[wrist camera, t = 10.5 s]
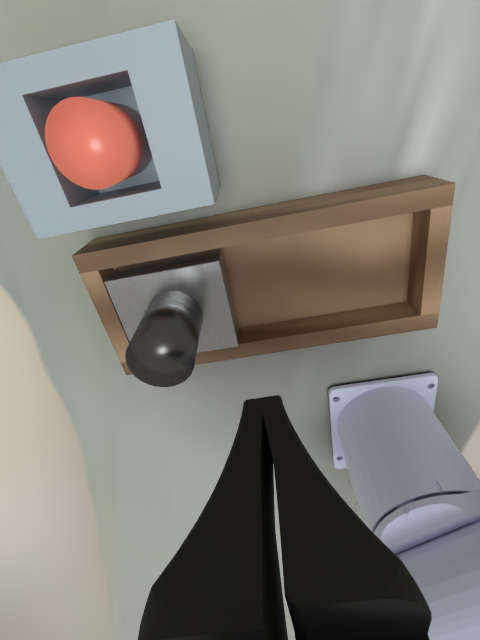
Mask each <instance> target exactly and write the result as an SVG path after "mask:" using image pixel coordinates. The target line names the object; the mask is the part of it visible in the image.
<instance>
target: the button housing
mask: <svg viewBox="0 0 480 640" xmlns="http://www.w3.org/2000/svg"><path fill="white" fill-rule="evenodd" d="M70 97H86V98H91V99H96V100H102V101H107V102H112V103H118V104H123V105H126V106H128V107H130V108H132V109H134V110H135V111H136V112H138V113H139V114H140V115H141V119H142V122H143V126H144V129H145V133H146V136H147V140H148V143H149V147H150V150H151V154H152V158H151V160H150V162H149V164H148V166H147V167H146V168H145V169H144V170H143V171H142V172H140V173H138V174H136V175H134V176H132V177H130V178H128V179H126V180H123V181H121V182H119V183H117V184H115V185H113V186H111V187H109V188H105V189H100V190H93V189H87V188H84V187H81V186H79V185H77V184H75V183H73V182H72V181H70V180H69V179H67V178H66V177H65V176H64V175H63V174H62V173H61V172H60V171H59V170H58V168H57V167H56V166H55V164H54V163H53V161H52V159H51V157H50V155H49V152H48V150H47V146H46V142H45V124H46V120H47V117H48V115H49V113H50V111H51V110H52V108H53V107H54V106H55V105H56V104H58V103H59V102H60V101H62V100H64V99H67V98H70ZM0 165H1V167H2V169H3V171H4V173H5V175H6V177H7V179H8V181H9V183H10V185H11V187H12V189H13V191H14V193H15V195H16V197H17V199H18V201H19V203H20V205H21V207H22V209H23V211H24V213H25V215H26V217H27V219H28V221H29V223H30V225H31V227H32V229H33V231H34V233H35V235H36V237H37V239H41V238H46V237H51V236H56V235H61V234H66V233H71V232H76V231H81V230H87V229H92V228H97V227H102V226H107V225H112V224H117V223H122V222H127V221H132V220H137V219H142V218H148V217H153V216H158V215H163V214H168V213H173V212H178V211H183V210H188V209H193V208H198V207H203V206H209V205H214V204H215V201H216V198H217V195H218V191H219V188H220V183H219V178H218V173H217V168H216V163H215V158H214V153H213V148H212V143H211V138H210V133H209V129H208V124H207V119H206V114H205V109H204V104H203V99H202V94H201V89H200V84H199V79H198V75H197V70H196V65H195V60H194V55H193V50H192V48H191V46H190V45H189V43H188V41H187V40H186V38H185V36H184V35H183V33H182V31H181V30H180V28H179V26H178V25H177V23H176V21H175V20H170V21H166V22H162V23H158V24H154V25H150V26H146V27H142V28H138V29H134V30H130V31H126V32H122V33H118V34H114V35H110V36H106V37H102V38H98V39H94V40H90V41H86V42H82V43H78V44H74V45H70V46H66V47H62V48H58V49H54V50H50V51H46V52H42V53H38V54H34V55H30V56H26V57H22V58H18V59H14V60H10V61H6V62H2V63H0Z"/></svg>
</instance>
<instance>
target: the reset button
mask: <svg viewBox="0 0 480 640" xmlns="http://www.w3.org/2000/svg"><path fill="white" fill-rule="evenodd" d="M45 142H46V146H47V150H48V152H49V155H50V157H51V159H52V161H53V163H54V164H55V166H56V167H57V168H58V170H59V171H60V172H61V173H62V174H63V175H64V176H65V177H66V178H67V179H69V180H70V181H72V182H73V183H75V184H77V185H79V186H81V187H84V188H87V189H93V190H100V189H105V188H109V187H111V186H113V185H115V184H117V183H119V182H121V181H123V180H126V179H128V178H130V177H132V176H134V175H136V174H138V173H140V172H142V171H143V170H144V169H145V168H146V167H147V166H148V164H149V162H150V160H151V158H152V154H151V150H150V147H149V143H148V140H147V136H146V133H145V129H144V126H143V122H142V119H141V115H140V114H139V113H138V112H136V111H135V110H134V109H132V108H130V107H128V106H126V105H123V104H118V103H112V102H107V101H102V100H96V99H91V98H86V97H70V98H67V99H64V100H62V101H60V102H59V103H58V104H56V105H55V106H54V107H53V108H52V110H51V111H50V113H49V115H48V117H47V120H46V124H45Z"/></svg>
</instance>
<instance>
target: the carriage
mask: <svg viewBox="0 0 480 640" xmlns="http://www.w3.org/2000/svg"><path fill="white" fill-rule="evenodd" d="M104 283H105V285H106V287H107V290H108V292H109V294H110V297H111V299H112V302H113V304H114V306H115V309H116V311H117V313H118V316H119V318H120V320H121V323H122V325H123V327H124V330H125V332H126V334H127V337H128V339H129V341H130V343H129V345H128V347H127V350H126V354H125V358H126V363H127V366H128V368H129V370H130V371H131V372H132V373H133V374H134V376H136V377H137V378H138V379H140V380H141V381H143V382H145V383H147V384H150V385H153V386H158V387H170V386H175V385H178V384H180V383H182V382H183V381H185V380H186V379H187V378H188V377H189V376H190V375H191V373H192V371H193V369H194V364H195V359H196V353H199V352H205V351H211V350H218V349H224V348H231V347H237V346H238V321H237V316H236V312H235V307H234V303H233V298H232V293H231V289H230V284H229V280H228V275H227V271H226V266H225V262H224V257H223V253H222V248H217V249H212V250H206V251H201V252H195V253H190V254H185V255H179V256H174V257H168V258H163V259H157V260H152V261H147V262H141V263H136V264H130V265H125V266H120V267H117V268H116V269H115V270H114V271H113V272H112V273H111V275H110V276H109V277H108V278H107V279H106V280H105V282H104Z"/></svg>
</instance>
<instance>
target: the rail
mask: <svg viewBox="0 0 480 640" xmlns="http://www.w3.org/2000/svg"><path fill="white" fill-rule="evenodd" d="M454 190H455V183H453V182H449V181H446V180H442V179H438V178H434V177H430V176H427V175H421V176H416V177H411V178H406V179H401V180H395V181H390V182H385V183H380V184H375V185H370V186H365V187H359V188H354V189H349V190H344V191H339V192H334V193H328V194H323V195H318V196H313V197H308V198H303V199H297V200H292V201H287V202H282V203H277V204H272V205H266V206H261V207H256V208H251V209H246V210H241V211H235V212H230V213H225V214H220V215H215V216H210V217H204V218H199V219H194V220H189V221H184V222H179V223H174V224H168V225H163V226H158V227H153V228H148V229H143V230H137V231H132V232H127V233H122V234H117V235H112V236H106V237H101V238H96V239H93V240H92V241H90V242H89V243H88V244H87V245H85V246H84V247H83V248H81V249H80V250H79V251H78V252H76V253H75V254H74V255H72V257H73V260H74V262H75V264H76V266H77V268H78V270H79V273H80V275H81V277H82V279H83V281H84V284H85V286H86V288H87V290H88V292H89V294H90V297H91V299H92V301H93V303H94V305H95V308H96V310H97V312H98V314H99V316H100V318H101V321H102V323H103V325H104V327H105V329H106V332H107V334H108V336H109V338H110V340H111V342H112V345H113V347H114V349H115V351H116V353H117V356H118V358H119V360H120V362H121V364H122V366H123V369H124V371H125V373H126V375H131V374H133V373H132V372H131V371H130V370H129V368H128V366H127V363H126V358H125V354H126V350H127V347H128V345H129V343H130V341H129V339H128V337H127V334H126V332H125V330H124V327H123V325H122V323H121V320H120V318H119V316H118V313H117V311H116V309H115V306H114V304H113V302H112V299H111V297H110V294H109V292H108V290H107V287H106V285H105V283H104V282H105V280H106V279H107V278H108V277H109V276H110V275H111V273H112V272H113V271H114V270H115V269H116V268H117V267H120V266H125V265H130V264H136V263H141V262H147V261H152V260H157V259H163V258H168V257H174V256H179V255H185V254H190V253H195V252H201V251H206V250H212V249H217V248H222V253H223V257H224V262H225V266H226V271H227V275H228V280H229V284H230V289H231V293H232V298H233V303H234V307H235V312H236V316H237V321H238V346H237V347H231V348H224V349H218V350H211V351H205V352H199V353H196V359H195V364H194V365H196V364H203V363H209V362H216V361H222V360H228V359H235V358H241V357H248V356H254V355H261V354H267V353H274V352H280V351H287V350H293V349H300V348H306V347H313V346H319V345H326V344H332V343H339V342H345V341H352V340H358V339H365V338H371V337H378V336H384V335H391V334H397V333H404V332H410V331H417V330H423V329H430V328H436V327H437V323H438V315H439V307H440V299H441V292H442V284H443V276H444V268H445V260H446V252H447V245H448V237H449V229H450V221H451V213H452V206H453V198H454Z"/></svg>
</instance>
